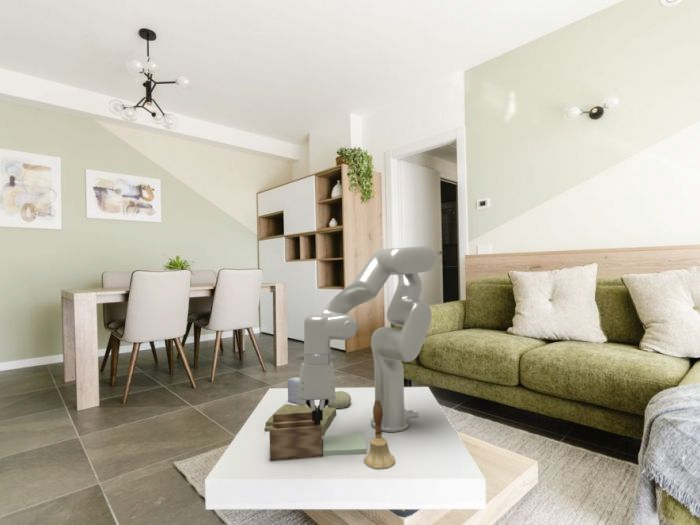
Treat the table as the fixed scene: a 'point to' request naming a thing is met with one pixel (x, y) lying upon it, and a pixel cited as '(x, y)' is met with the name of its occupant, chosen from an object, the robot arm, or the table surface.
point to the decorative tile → (288, 408)
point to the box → (295, 437)
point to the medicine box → (294, 390)
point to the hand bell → (379, 444)
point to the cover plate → (344, 444)
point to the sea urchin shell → (341, 400)
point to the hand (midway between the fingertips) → (317, 422)
